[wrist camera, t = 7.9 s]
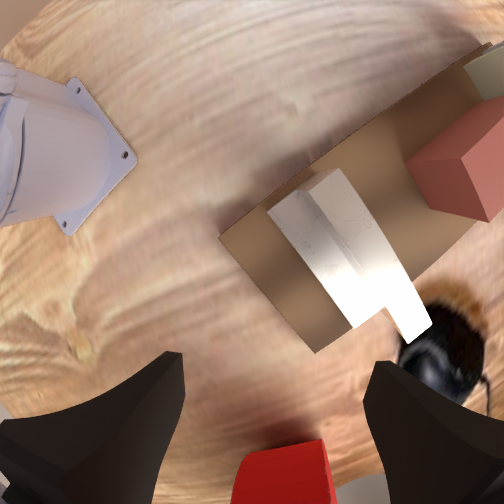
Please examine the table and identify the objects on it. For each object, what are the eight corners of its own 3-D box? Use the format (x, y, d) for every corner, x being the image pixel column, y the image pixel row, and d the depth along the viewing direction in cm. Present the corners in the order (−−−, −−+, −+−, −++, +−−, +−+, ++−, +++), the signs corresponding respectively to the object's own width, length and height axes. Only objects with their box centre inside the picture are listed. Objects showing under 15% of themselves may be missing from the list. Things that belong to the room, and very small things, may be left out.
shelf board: (220, 234, 18) (217, 237, 17) (482, 45, 13) (490, 41, 12) (312, 344, 20) (314, 353, 19) (534, 141, 15) (542, 141, 14)
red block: (403, 163, 16) (460, 158, 10) (476, 102, 14) (530, 88, 8) (430, 209, 16) (489, 223, 10) (498, 143, 14) (552, 140, 9)
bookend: (266, 210, 17) (267, 222, 11) (316, 172, 16) (339, 167, 11) (350, 322, 18) (376, 366, 13) (394, 289, 17) (432, 323, 12)
